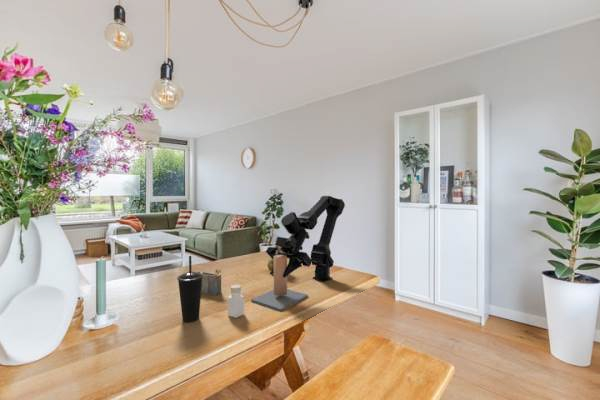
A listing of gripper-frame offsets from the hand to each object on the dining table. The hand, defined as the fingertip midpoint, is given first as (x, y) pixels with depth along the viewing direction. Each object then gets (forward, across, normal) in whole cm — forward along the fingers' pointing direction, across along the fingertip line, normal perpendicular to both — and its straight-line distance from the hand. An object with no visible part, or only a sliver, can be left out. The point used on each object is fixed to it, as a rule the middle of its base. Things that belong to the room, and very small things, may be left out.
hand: (278, 275), depth 104 cm
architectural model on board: (+14, -28, 0) cm, 31 cm away
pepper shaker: (+19, -3, -6) cm, 20 cm away
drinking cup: (+26, -12, -13) cm, 32 cm away
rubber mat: (+6, 0, +7) cm, 9 cm away
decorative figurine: (-11, -24, +25) cm, 36 cm away
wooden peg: (+4, 0, +6) cm, 7 cm away
